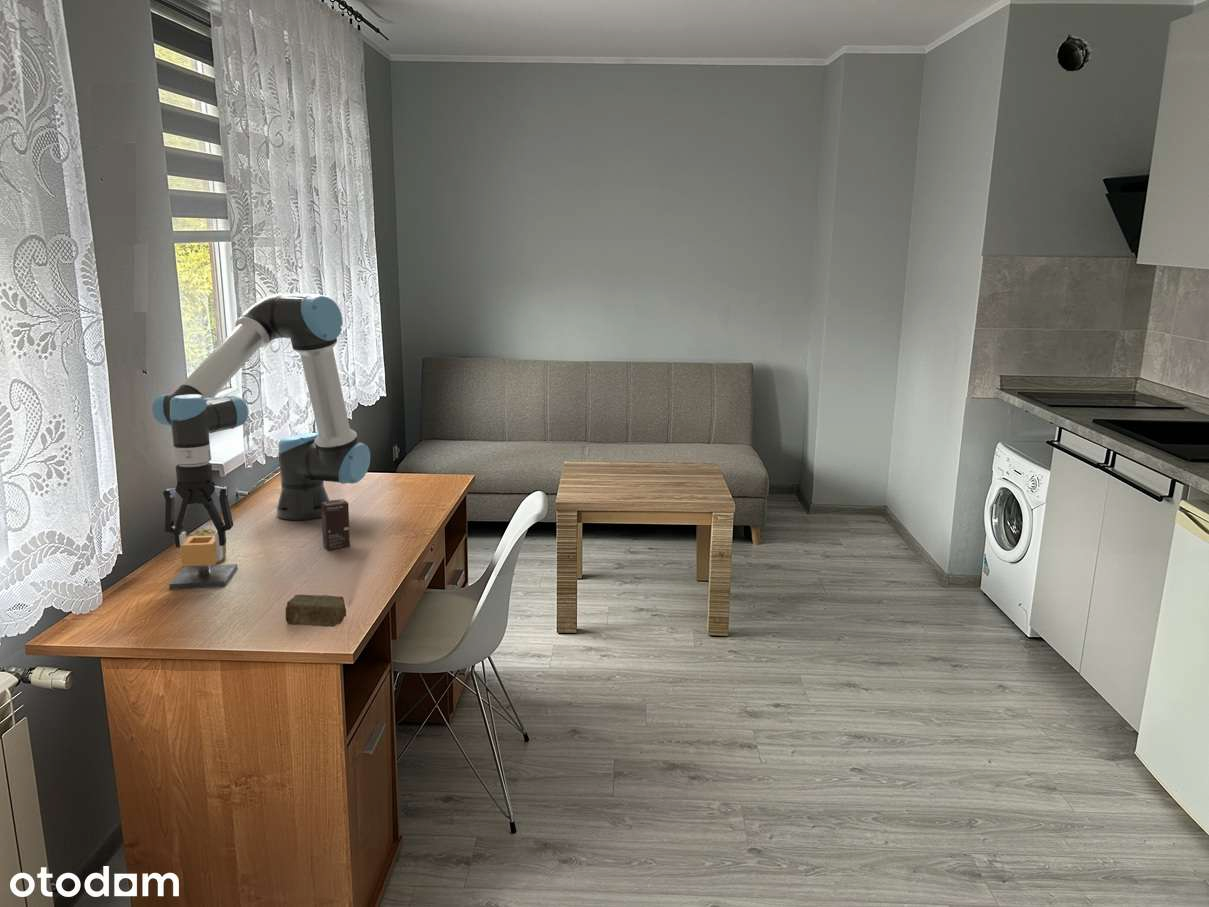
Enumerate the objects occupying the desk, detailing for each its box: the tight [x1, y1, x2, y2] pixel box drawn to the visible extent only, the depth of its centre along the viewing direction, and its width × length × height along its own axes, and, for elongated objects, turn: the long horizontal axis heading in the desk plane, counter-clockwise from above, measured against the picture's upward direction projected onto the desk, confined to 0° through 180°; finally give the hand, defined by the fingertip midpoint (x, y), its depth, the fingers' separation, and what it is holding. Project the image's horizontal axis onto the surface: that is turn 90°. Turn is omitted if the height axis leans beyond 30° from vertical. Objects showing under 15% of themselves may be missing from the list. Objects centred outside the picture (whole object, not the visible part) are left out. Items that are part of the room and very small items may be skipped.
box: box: [321, 498, 351, 551], centre depth 236 cm, size 6×4×12 cm
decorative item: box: [186, 527, 227, 564], centre depth 227 cm, size 10×10×10 cm
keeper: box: [168, 563, 239, 590], centre depth 214 cm, size 12×12×8 cm
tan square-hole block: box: [180, 535, 218, 567], centre depth 213 cm, size 7×7×5 cm
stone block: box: [284, 594, 347, 628], centre depth 190 cm, size 6×12×5 cm, turn 83°
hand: (202, 559), depth 213 cm, fingers closed on tan square-hole block, 7 cm apart
